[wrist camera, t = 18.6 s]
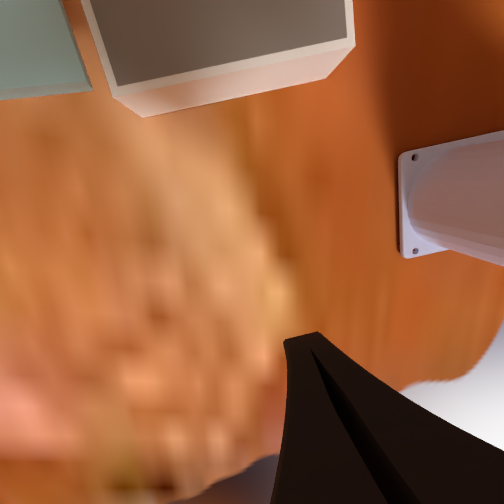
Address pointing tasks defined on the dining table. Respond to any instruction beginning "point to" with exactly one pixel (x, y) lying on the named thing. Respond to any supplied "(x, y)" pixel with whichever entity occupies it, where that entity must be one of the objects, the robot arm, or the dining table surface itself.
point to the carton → (214, 47)
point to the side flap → (38, 51)
